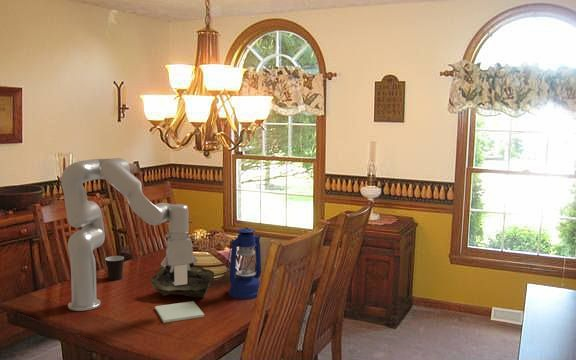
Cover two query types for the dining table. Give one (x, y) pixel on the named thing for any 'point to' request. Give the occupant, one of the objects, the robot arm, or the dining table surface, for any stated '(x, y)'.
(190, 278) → the hollow geode rock
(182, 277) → the cream block
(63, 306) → the dining table surface
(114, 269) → the coffee mug
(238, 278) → the lantern
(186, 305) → the sage mat
